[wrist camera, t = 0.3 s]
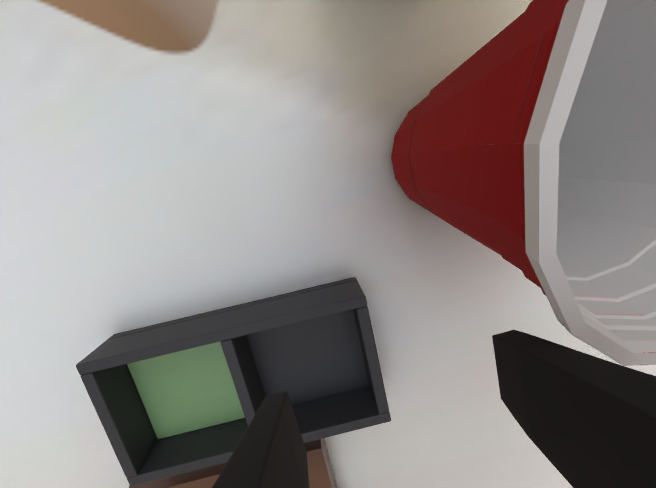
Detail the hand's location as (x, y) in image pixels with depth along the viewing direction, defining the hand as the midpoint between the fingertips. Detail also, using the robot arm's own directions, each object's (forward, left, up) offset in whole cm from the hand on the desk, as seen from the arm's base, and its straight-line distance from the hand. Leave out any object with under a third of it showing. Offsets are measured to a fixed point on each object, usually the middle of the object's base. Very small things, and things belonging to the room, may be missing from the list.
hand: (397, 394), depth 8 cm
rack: (-4, +7, -10) cm, 13 cm away
